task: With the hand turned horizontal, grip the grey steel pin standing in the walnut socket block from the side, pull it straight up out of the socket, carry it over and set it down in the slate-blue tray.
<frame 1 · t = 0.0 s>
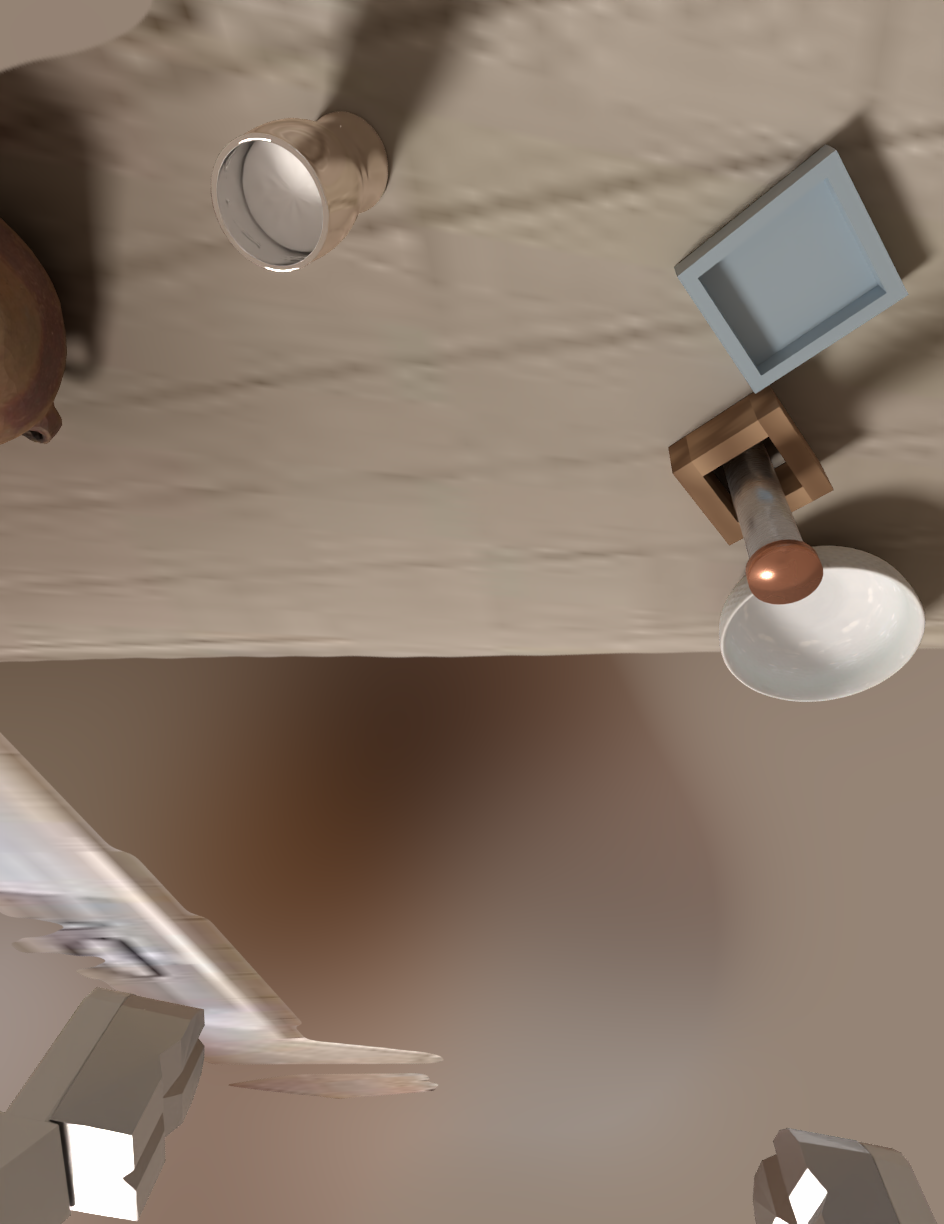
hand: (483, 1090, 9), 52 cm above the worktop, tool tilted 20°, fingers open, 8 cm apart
beer glass: (347, 163, 47), on the worktop
tray: (783, 275, 48), on the worktop
cereal bowl: (801, 591, 66), on the worktop
pin: (761, 508, 51), in the socket block
socket block: (743, 454, 57), on the worktop
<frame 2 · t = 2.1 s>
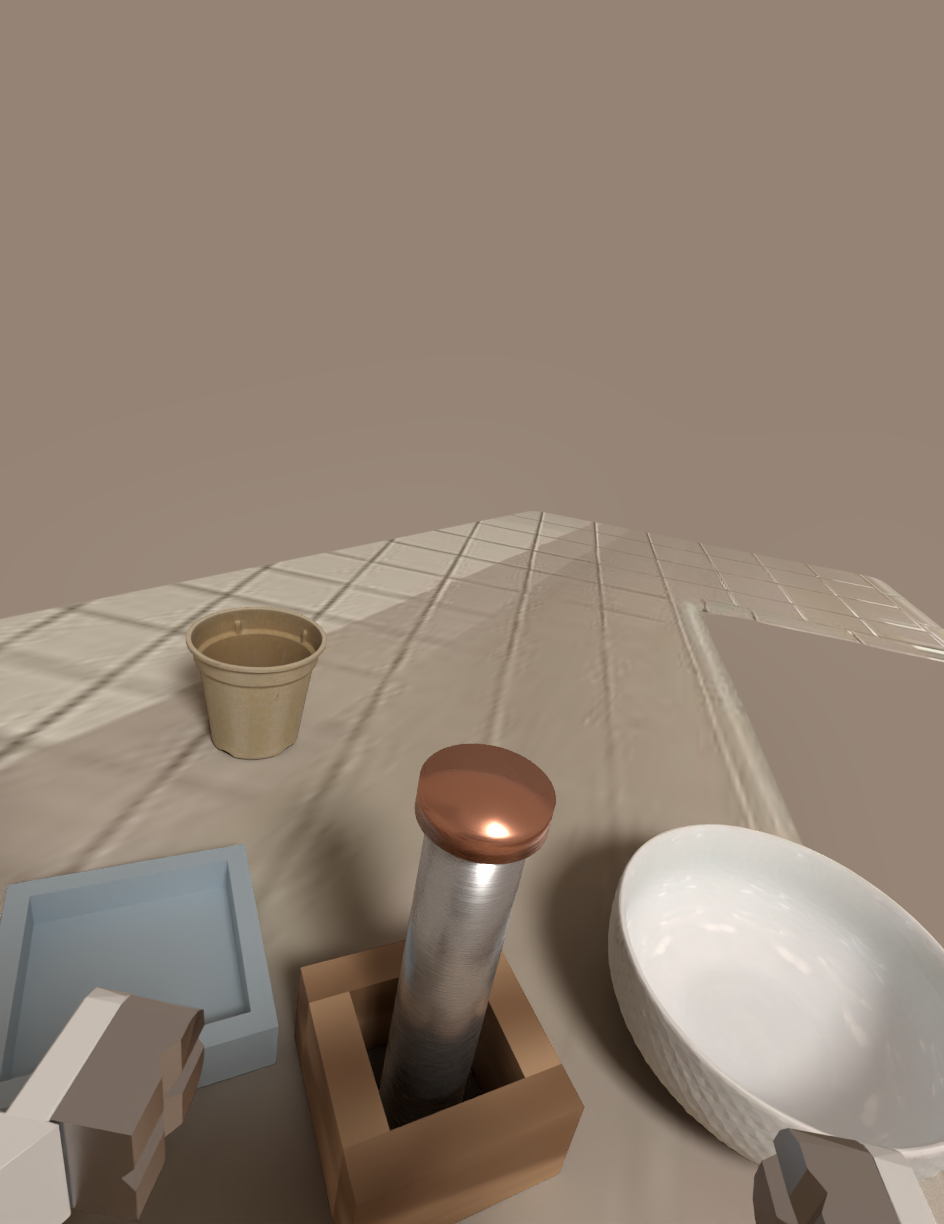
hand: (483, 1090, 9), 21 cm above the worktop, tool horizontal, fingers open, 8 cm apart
flower pot: (254, 738, 50), on the worktop
tray: (136, 987, 31), on the worktop
cereal bowl: (743, 1045, 34), on the worktop
pin: (449, 963, 26), in the socket block
socket block: (419, 1100, 29), on the worktop
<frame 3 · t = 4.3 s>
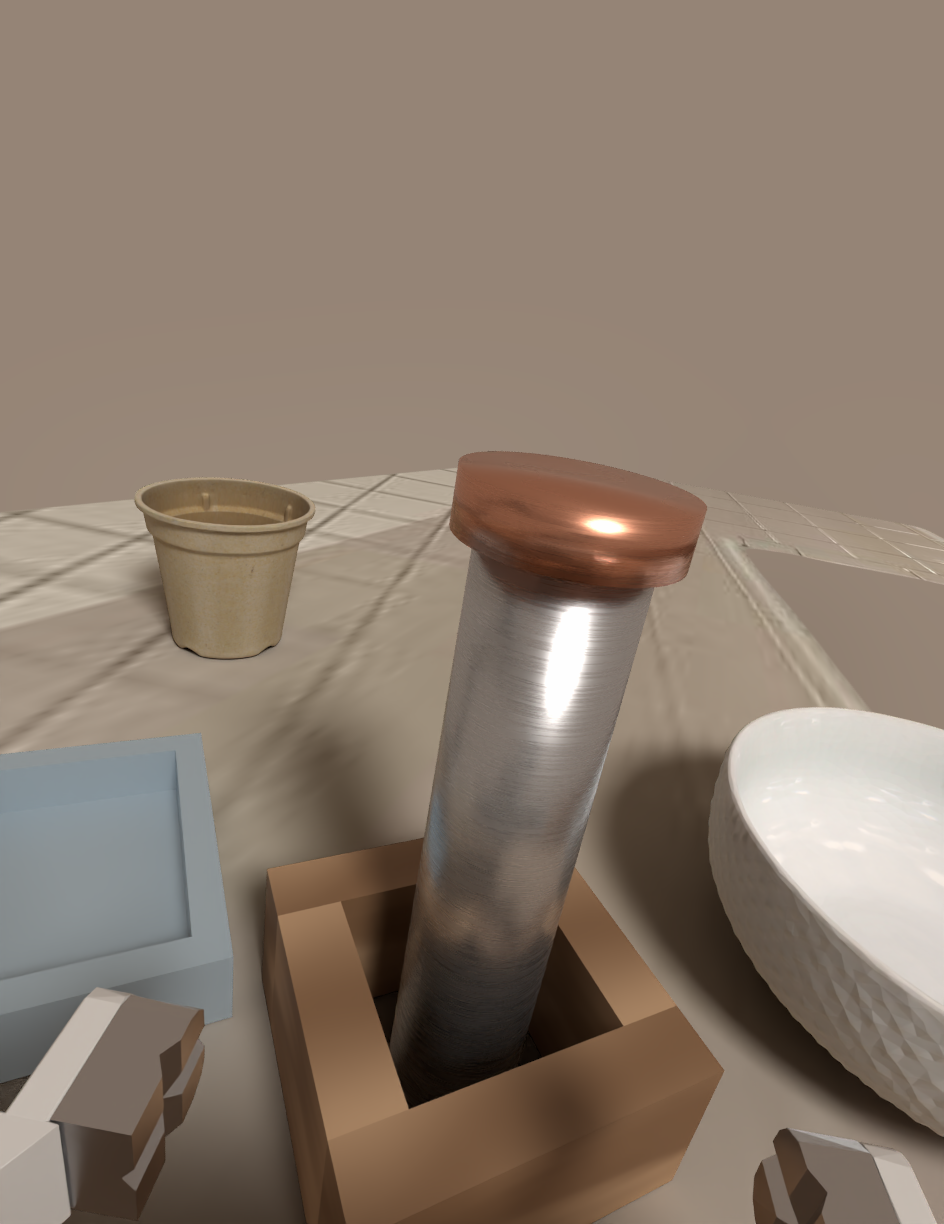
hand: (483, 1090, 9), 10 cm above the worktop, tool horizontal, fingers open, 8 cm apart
flower pot: (227, 640, 40), on the worktop
tray: (32, 913, 22), on the worktop
cereal bowl: (900, 996, 24), on the worktop
pin: (500, 838, 16), in the socket block
socket block: (449, 1070, 19), on the worktop
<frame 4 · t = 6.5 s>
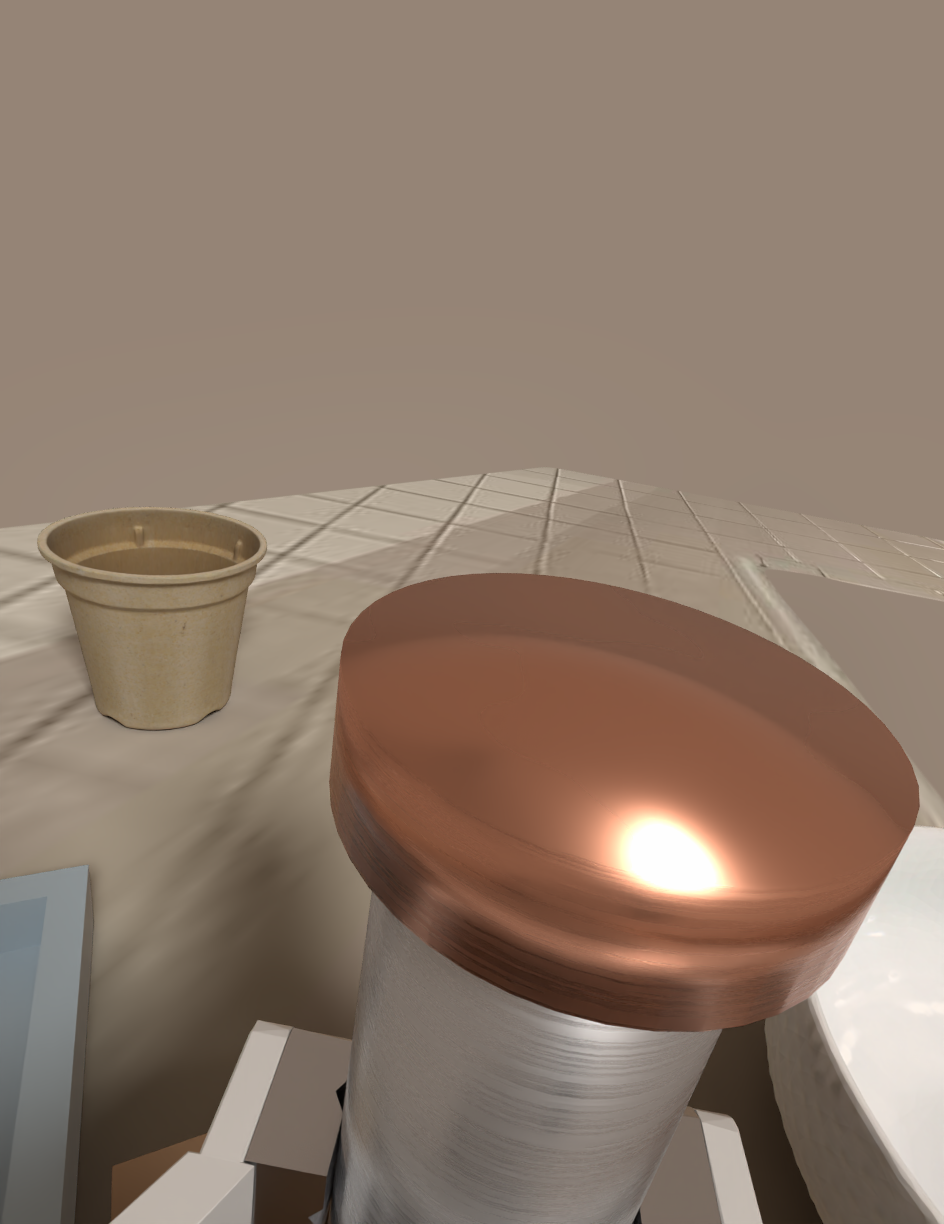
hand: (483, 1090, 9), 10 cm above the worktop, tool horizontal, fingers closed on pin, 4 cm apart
flower pot: (164, 701, 34), on the worktop
pin: (461, 1223, 9), in the socket block, touching gripper
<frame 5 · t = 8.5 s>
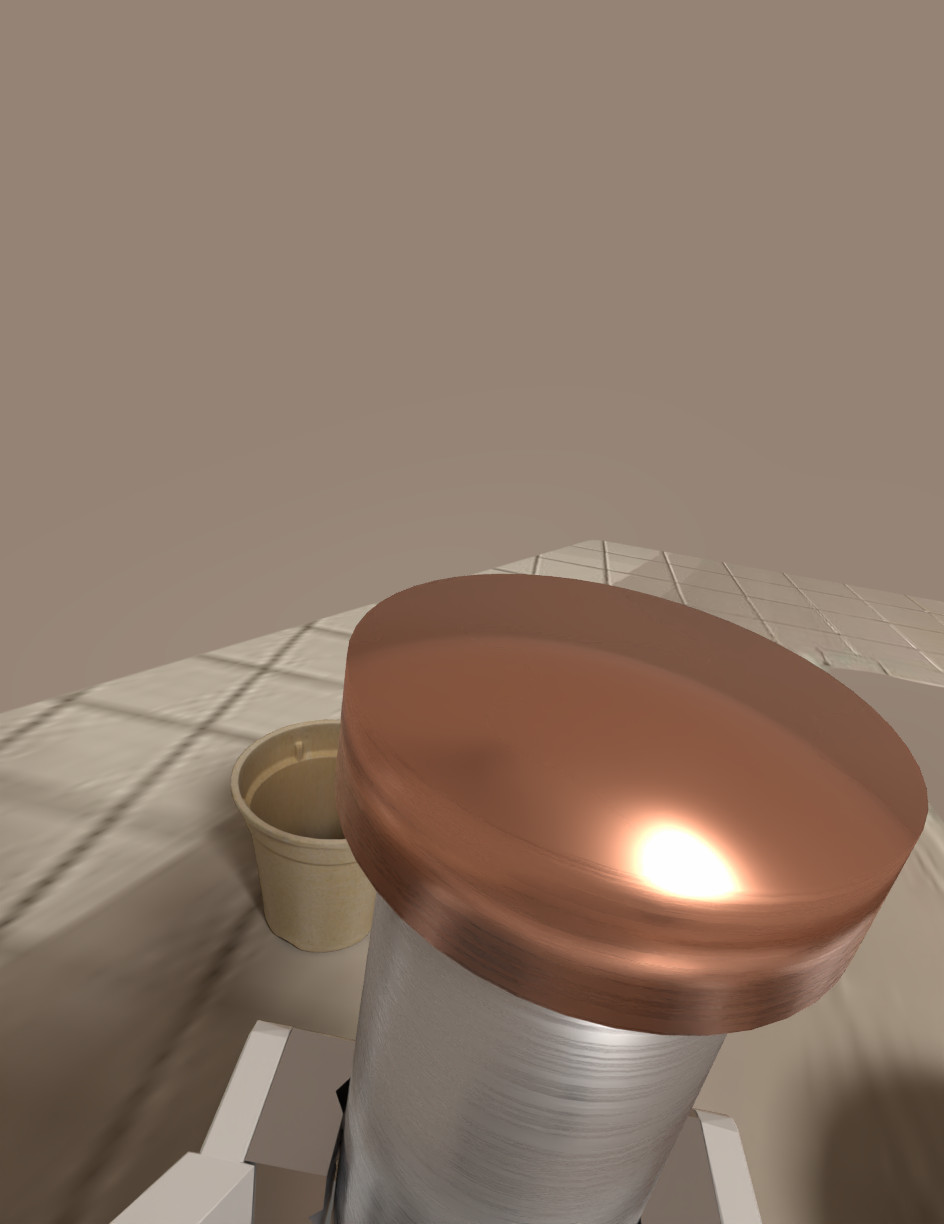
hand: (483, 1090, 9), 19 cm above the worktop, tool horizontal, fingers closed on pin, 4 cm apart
flower pot: (323, 908, 35), on the worktop
when the fingers open (12 cm above the worktop, at t = 10.7 s): pin drops 1 cm, resting on tray.
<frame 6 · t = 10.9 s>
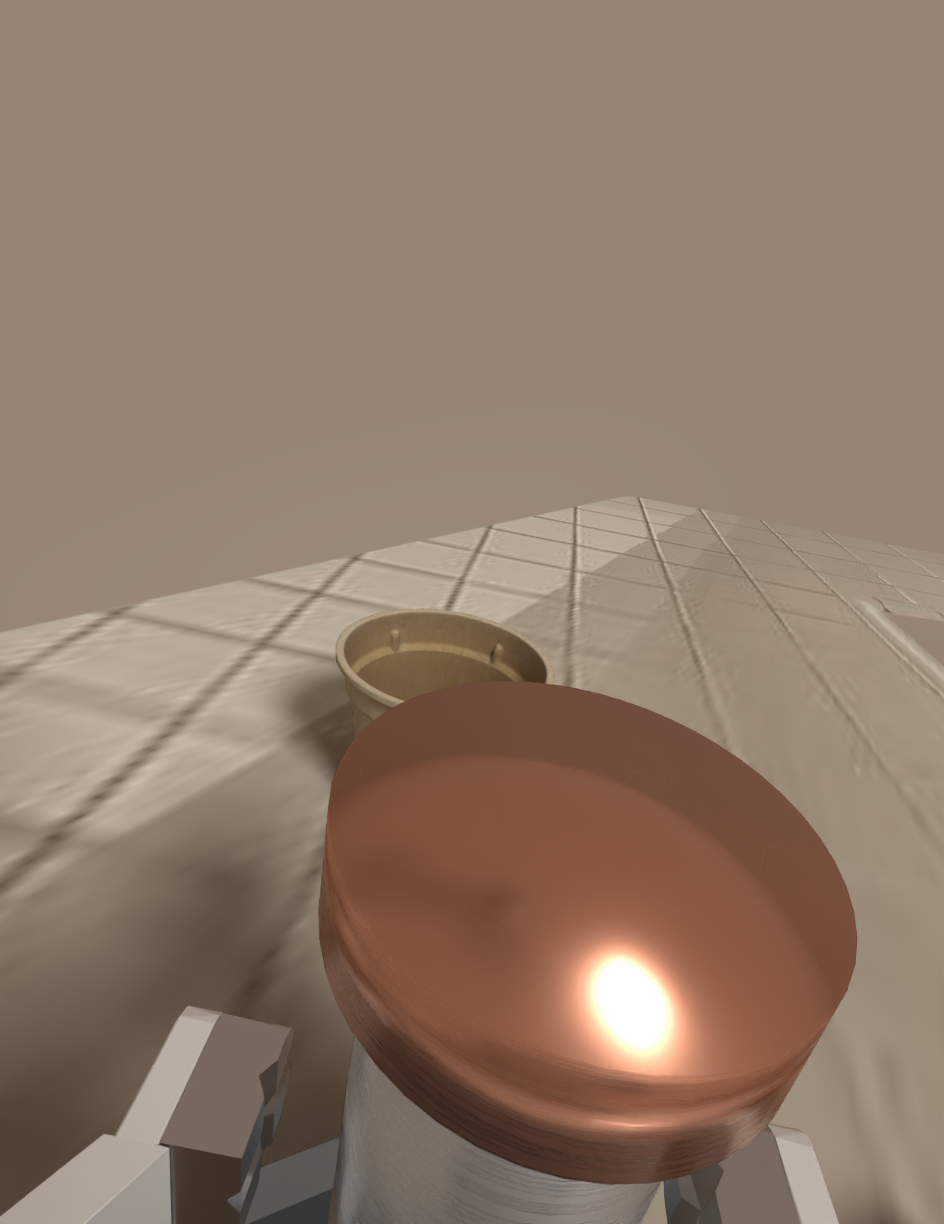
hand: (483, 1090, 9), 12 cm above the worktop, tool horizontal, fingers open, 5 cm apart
flower pot: (420, 814, 32), on the worktop
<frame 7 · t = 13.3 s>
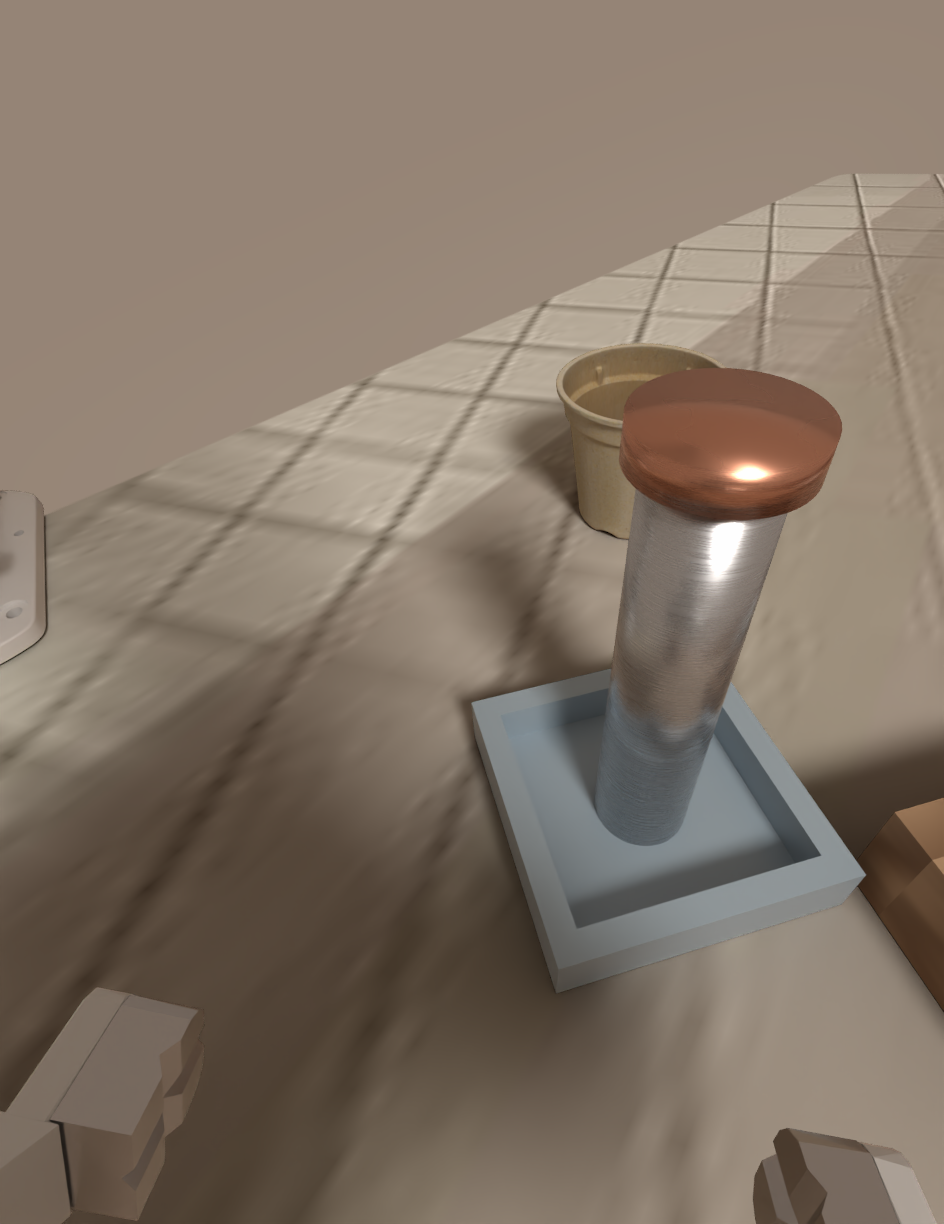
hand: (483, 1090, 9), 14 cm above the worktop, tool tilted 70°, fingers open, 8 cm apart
flower pot: (627, 513, 42), on the worktop
tray: (637, 810, 27), on the worktop
pin: (671, 665, 21), in the tray, point 9 cm above the worktop
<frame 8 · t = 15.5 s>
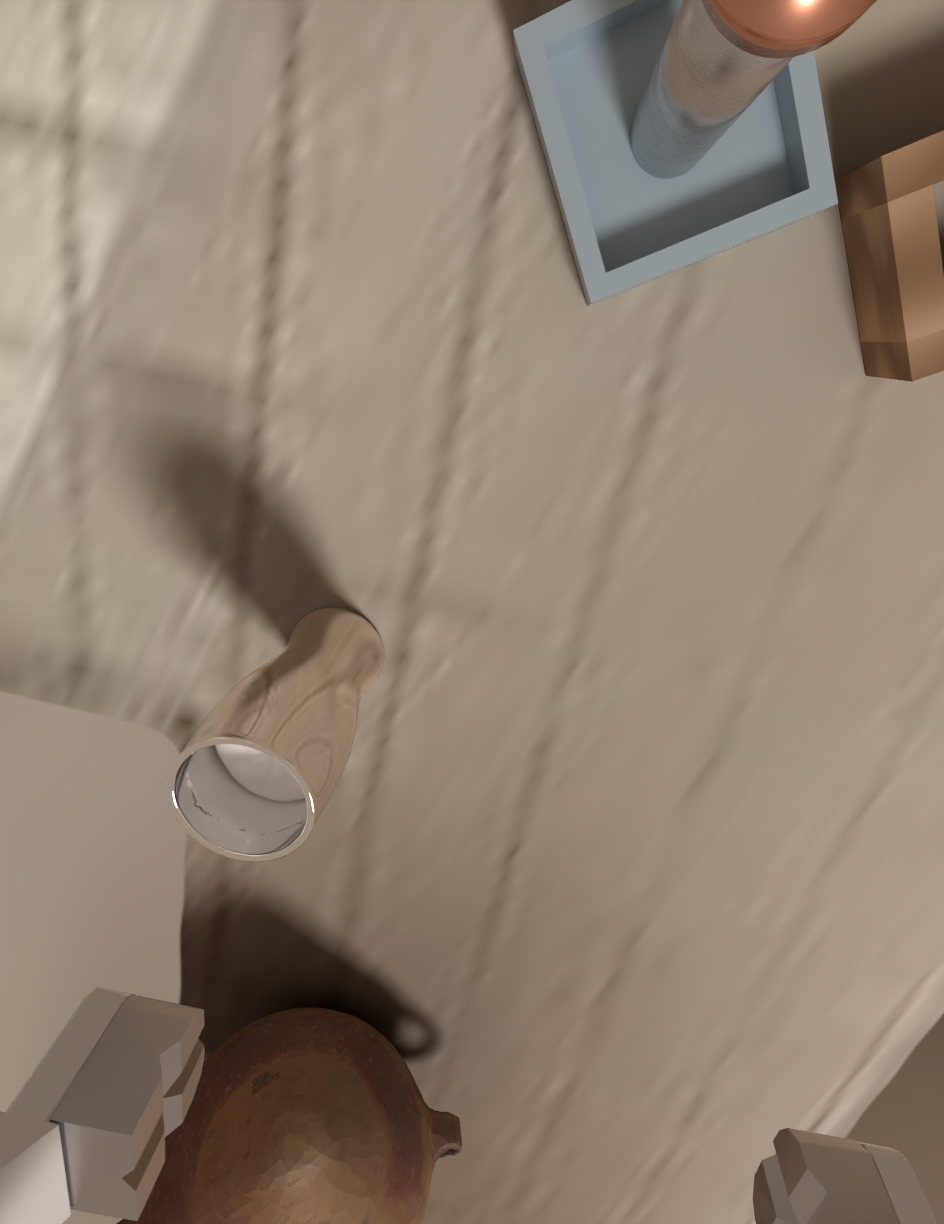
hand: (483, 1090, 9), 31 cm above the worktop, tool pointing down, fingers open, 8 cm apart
beer glass: (338, 649, 42), on the worktop
jug: (323, 1076, 59), on the worktop
tray: (668, 135, 30), on the worktop
pin: (717, 58, 22), in the tray, point 9 cm above the worktop
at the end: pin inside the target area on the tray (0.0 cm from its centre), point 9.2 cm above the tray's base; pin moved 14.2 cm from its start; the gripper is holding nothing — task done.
